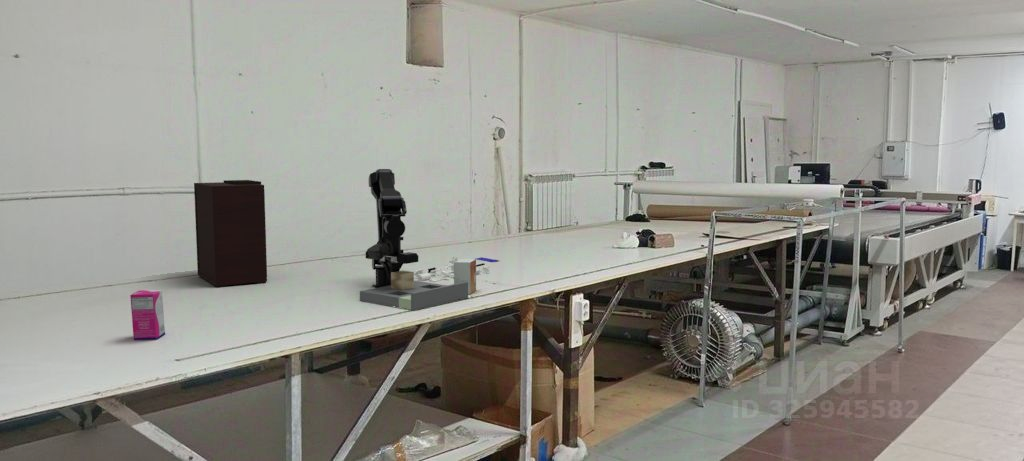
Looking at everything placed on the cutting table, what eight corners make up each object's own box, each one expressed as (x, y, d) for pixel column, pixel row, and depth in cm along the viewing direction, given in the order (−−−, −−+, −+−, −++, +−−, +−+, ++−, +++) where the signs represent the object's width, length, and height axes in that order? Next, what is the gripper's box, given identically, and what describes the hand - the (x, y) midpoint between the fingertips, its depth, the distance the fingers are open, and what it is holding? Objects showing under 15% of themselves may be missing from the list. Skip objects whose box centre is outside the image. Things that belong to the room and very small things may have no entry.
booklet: (433, 264, 314) (433, 262, 313) (481, 259, 330) (481, 257, 329) (450, 268, 304) (450, 266, 304) (499, 262, 320) (499, 260, 320)
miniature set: (474, 267, 300) (496, 275, 292) (403, 283, 275) (425, 293, 267) (475, 251, 298) (497, 259, 290) (404, 266, 274) (426, 275, 266)
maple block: (391, 288, 241) (391, 272, 241) (402, 285, 245) (402, 270, 245) (402, 289, 238) (402, 274, 238) (413, 287, 242) (413, 272, 242)
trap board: (359, 300, 236) (359, 284, 236) (415, 289, 255) (414, 274, 255) (413, 310, 222) (413, 293, 222) (468, 297, 241) (468, 282, 241)
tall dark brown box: (215, 287, 257) (211, 183, 254) (197, 276, 279) (193, 180, 275) (272, 282, 268) (269, 182, 264) (250, 272, 290) (247, 179, 286)
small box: (470, 294, 247) (470, 262, 246) (453, 294, 248) (453, 261, 247) (476, 290, 255) (476, 258, 254) (460, 289, 256) (460, 258, 255)
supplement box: (141, 334, 193) (139, 289, 192) (165, 334, 193) (163, 289, 192) (132, 340, 187) (129, 294, 186) (157, 339, 188) (155, 293, 186)
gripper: (352, 233, 242) (352, 282, 244) (393, 238, 231) (393, 289, 232) (378, 231, 251) (379, 278, 253) (419, 235, 240) (419, 284, 241)
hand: (391, 282), depth 244 cm, fingers closed
